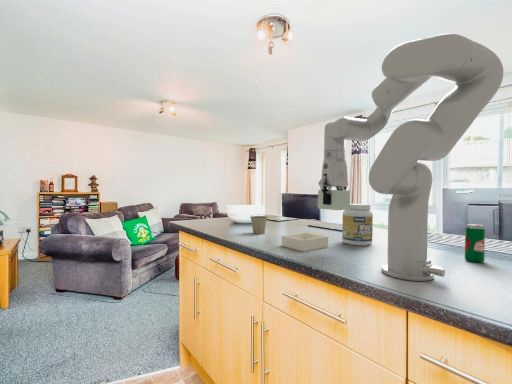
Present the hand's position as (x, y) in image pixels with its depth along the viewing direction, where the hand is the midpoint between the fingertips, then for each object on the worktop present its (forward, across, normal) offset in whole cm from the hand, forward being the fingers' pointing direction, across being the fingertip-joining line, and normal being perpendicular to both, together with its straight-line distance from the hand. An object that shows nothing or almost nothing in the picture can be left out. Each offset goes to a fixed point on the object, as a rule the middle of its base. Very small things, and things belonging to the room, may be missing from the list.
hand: (333, 203), depth 99 cm
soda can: (+18, +27, -35) cm, 48 cm away
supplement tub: (+18, +21, +4) cm, 28 cm away
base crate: (+18, -2, +12) cm, 22 cm away
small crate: (+2, 0, 0) cm, 2 cm away
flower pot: (+19, +1, +47) cm, 51 cm away
